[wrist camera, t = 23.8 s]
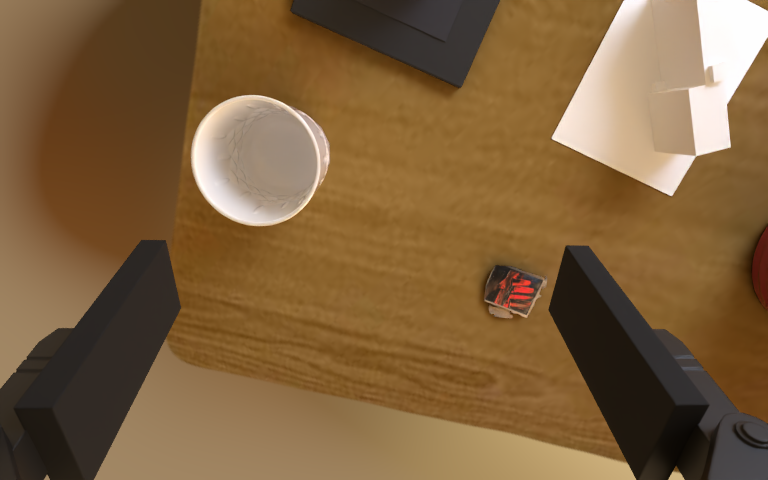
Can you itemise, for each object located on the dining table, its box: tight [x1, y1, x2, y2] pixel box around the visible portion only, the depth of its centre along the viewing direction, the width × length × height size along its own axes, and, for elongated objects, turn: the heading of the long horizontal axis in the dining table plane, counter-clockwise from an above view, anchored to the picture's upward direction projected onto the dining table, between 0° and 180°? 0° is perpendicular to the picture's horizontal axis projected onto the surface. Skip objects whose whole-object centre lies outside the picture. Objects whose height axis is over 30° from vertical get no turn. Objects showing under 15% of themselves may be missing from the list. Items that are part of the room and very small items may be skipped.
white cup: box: [191, 95, 330, 226], centre depth 34 cm, size 8×8×10 cm
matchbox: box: [484, 265, 547, 318], centre depth 41 cm, size 5×5×1 cm
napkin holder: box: [551, 0, 768, 196], centre depth 35 cm, size 15×11×6 cm
